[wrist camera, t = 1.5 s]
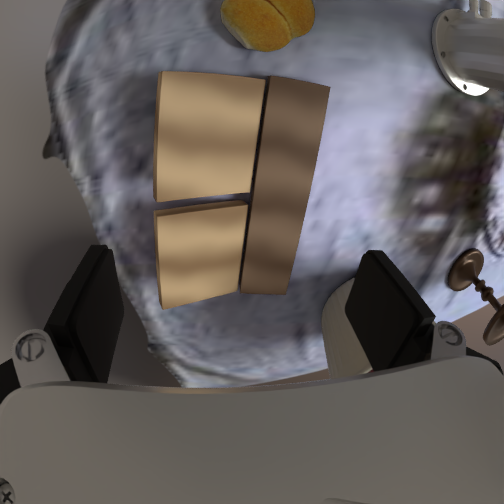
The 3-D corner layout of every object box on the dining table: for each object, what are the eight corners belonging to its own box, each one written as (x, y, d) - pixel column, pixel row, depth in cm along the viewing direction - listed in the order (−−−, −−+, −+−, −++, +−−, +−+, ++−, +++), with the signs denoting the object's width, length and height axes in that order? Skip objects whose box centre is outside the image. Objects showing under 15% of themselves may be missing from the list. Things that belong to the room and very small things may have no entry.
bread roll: (324, 22, 22) (338, 16, 19) (256, 64, 25) (261, 61, 22) (276, -32, 19) (283, -45, 15) (206, 9, 21) (203, -1, 18)
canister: (280, 325, 44) (308, 452, 27) (353, 233, 37) (438, 361, 19) (358, 347, 50) (396, 444, 33) (424, 277, 43) (491, 373, 25)
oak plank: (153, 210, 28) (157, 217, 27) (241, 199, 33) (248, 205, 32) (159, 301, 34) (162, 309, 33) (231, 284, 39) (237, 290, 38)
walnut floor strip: (267, 76, 25) (270, 75, 24) (323, 86, 26) (330, 87, 25) (239, 283, 39) (240, 293, 37) (282, 285, 40) (285, 294, 38)
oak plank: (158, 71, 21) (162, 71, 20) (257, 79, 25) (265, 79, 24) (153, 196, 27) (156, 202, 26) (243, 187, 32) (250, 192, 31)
